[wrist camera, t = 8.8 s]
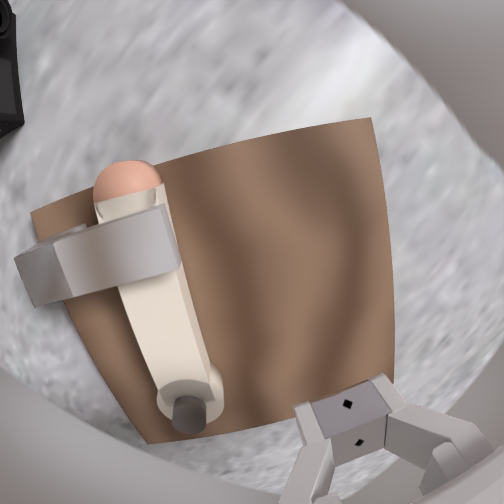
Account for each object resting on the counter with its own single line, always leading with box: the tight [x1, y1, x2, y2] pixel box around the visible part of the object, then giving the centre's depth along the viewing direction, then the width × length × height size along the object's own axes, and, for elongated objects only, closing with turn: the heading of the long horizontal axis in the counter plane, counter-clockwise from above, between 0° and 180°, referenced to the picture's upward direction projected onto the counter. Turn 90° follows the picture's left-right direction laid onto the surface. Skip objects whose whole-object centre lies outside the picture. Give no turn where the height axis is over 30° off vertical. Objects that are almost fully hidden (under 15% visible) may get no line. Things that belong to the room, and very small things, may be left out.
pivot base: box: [14, 117, 395, 444], centre depth 20 cm, size 23×22×6 cm
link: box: [93, 160, 224, 424], centre depth 19 cm, size 18×5×2 cm, turn 10°
